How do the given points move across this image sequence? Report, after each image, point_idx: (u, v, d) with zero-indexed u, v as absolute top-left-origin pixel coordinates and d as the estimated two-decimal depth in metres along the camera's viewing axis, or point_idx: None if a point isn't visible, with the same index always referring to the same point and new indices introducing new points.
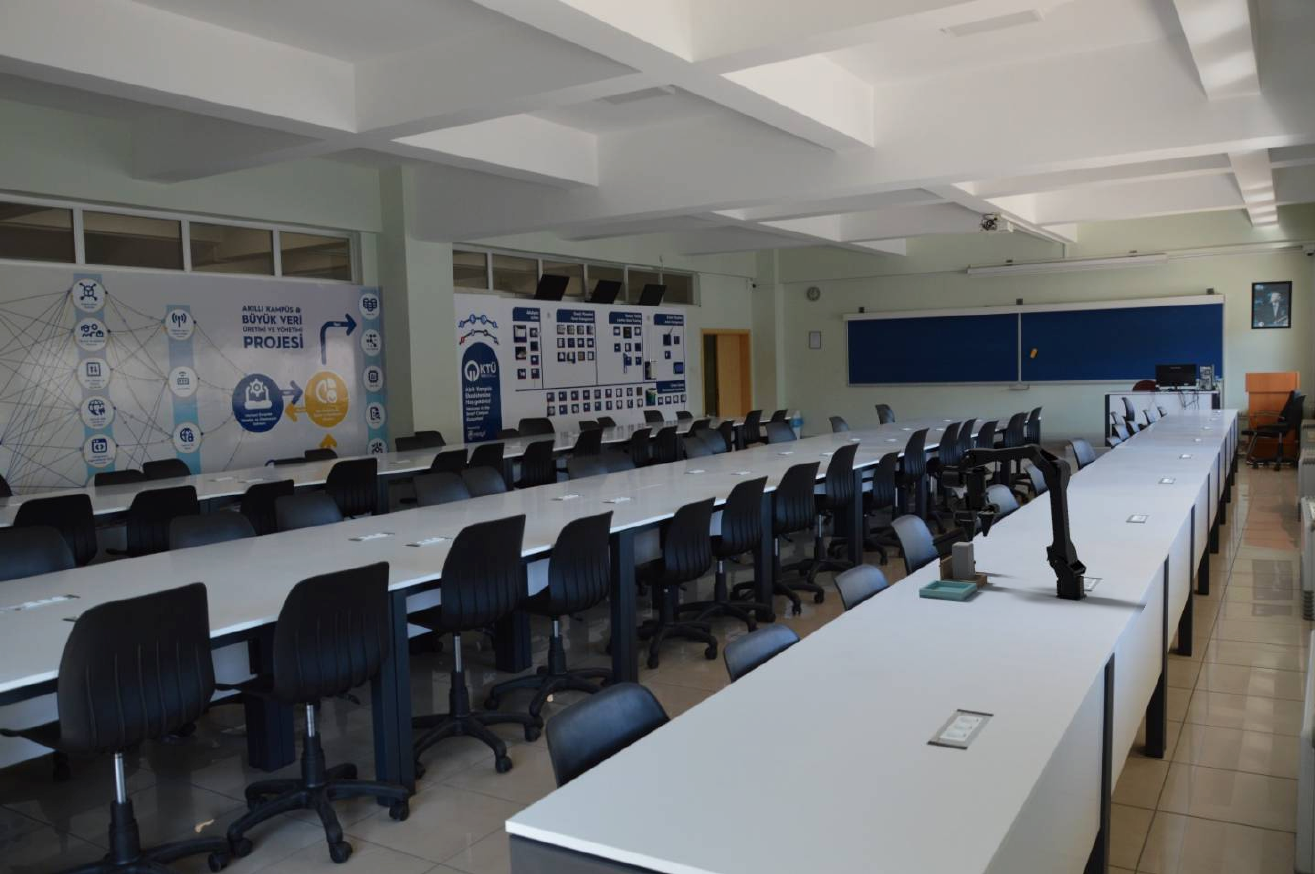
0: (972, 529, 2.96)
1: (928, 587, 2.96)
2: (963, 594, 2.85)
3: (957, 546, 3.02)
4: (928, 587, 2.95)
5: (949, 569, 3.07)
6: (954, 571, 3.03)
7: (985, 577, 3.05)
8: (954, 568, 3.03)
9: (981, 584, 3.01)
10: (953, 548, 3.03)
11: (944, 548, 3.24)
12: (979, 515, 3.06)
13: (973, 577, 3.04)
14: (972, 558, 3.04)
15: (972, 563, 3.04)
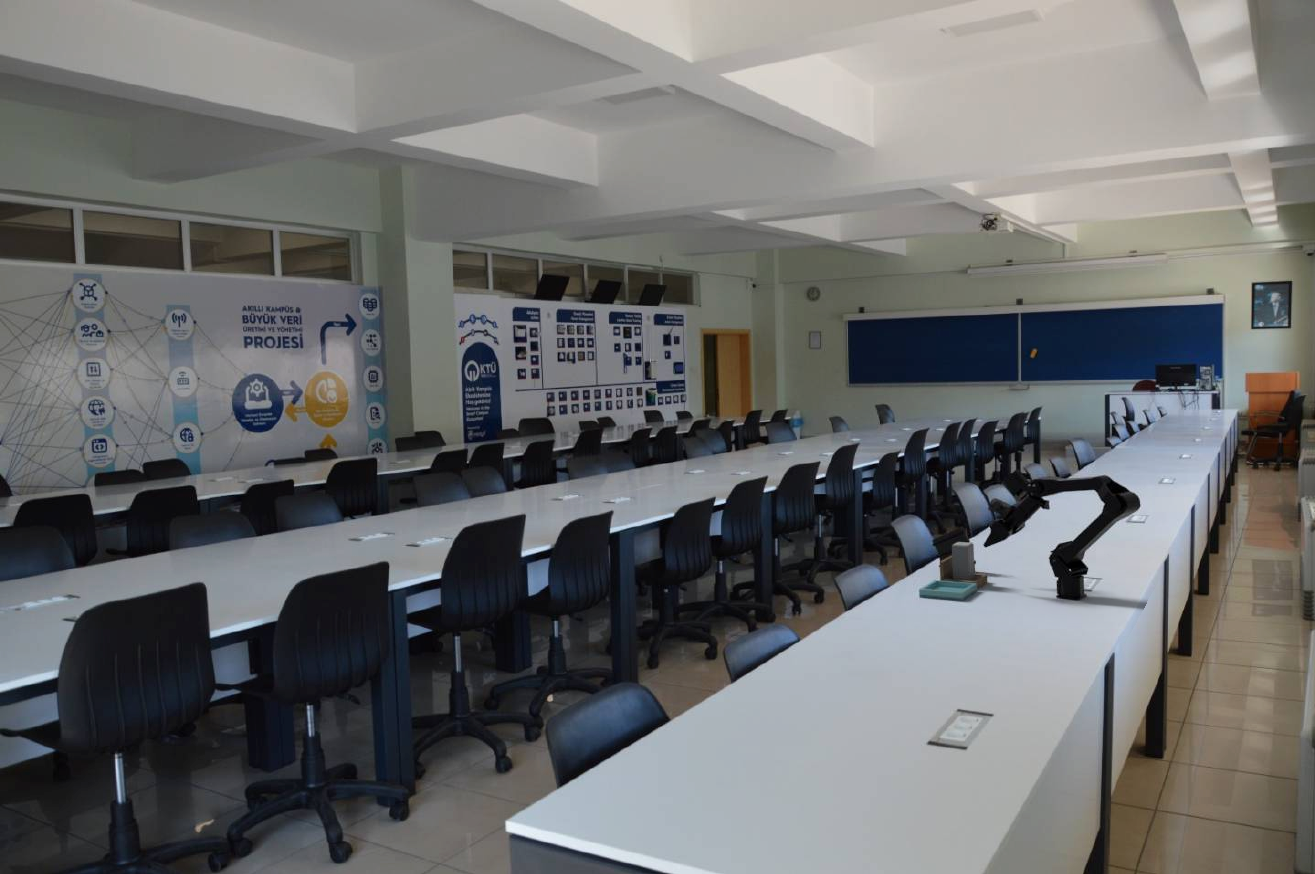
0: (995, 541, 2.92)
1: (928, 587, 2.96)
2: (963, 594, 2.85)
3: (957, 546, 3.02)
4: (928, 587, 2.95)
5: (949, 569, 3.07)
6: (954, 571, 3.03)
7: (985, 577, 3.05)
8: (954, 568, 3.03)
9: (981, 584, 3.01)
10: (953, 548, 3.03)
11: (944, 548, 3.24)
12: None
13: (973, 577, 3.04)
14: (972, 558, 3.04)
15: (972, 563, 3.04)
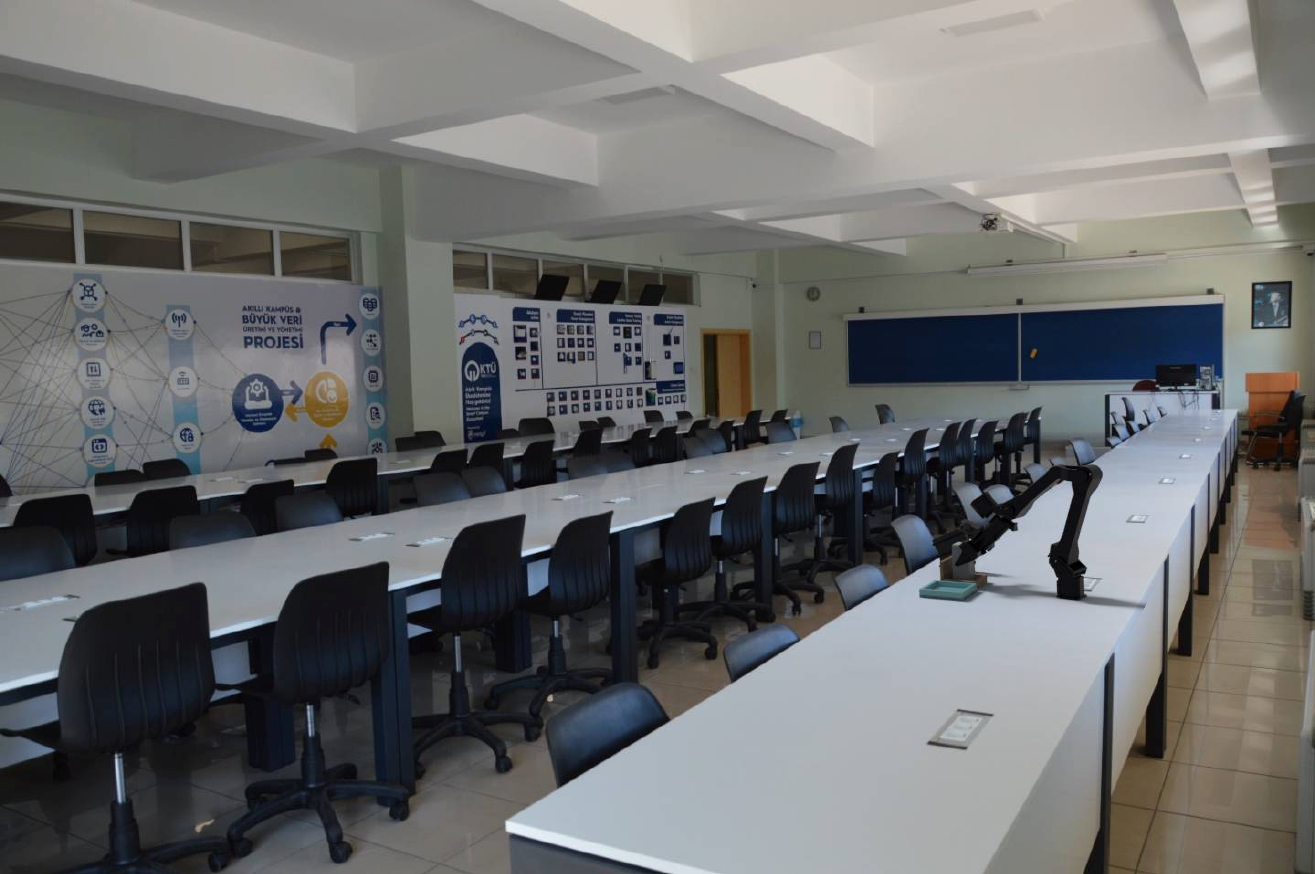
0: (966, 561, 2.99)
1: (928, 587, 2.96)
2: (963, 594, 2.85)
3: (957, 546, 3.02)
4: (928, 587, 2.95)
5: (949, 569, 3.07)
6: (954, 571, 3.03)
7: (985, 577, 3.05)
8: (954, 568, 3.03)
9: (981, 584, 3.01)
10: (953, 548, 3.03)
11: (944, 548, 3.24)
12: None
13: (973, 577, 3.04)
14: None
15: (972, 563, 3.04)
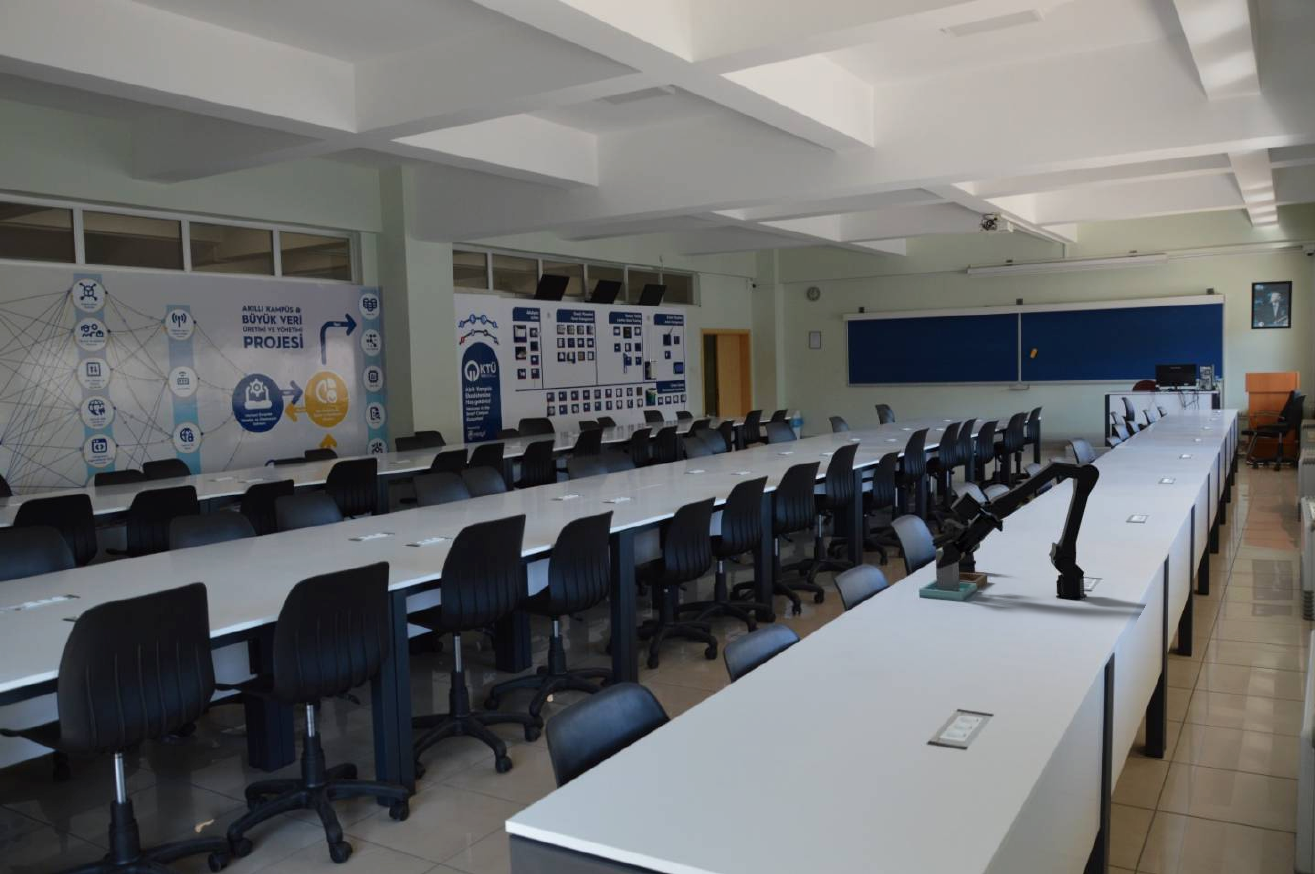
0: (948, 563, 2.87)
1: (928, 587, 2.96)
2: (963, 594, 2.85)
3: (941, 551, 2.91)
4: (928, 587, 2.95)
5: None
6: (938, 577, 2.92)
7: (985, 577, 3.05)
8: (938, 574, 2.92)
9: (981, 584, 3.01)
10: (937, 553, 2.92)
11: None
12: None
13: (957, 583, 2.93)
14: (956, 564, 2.93)
15: (956, 569, 2.93)
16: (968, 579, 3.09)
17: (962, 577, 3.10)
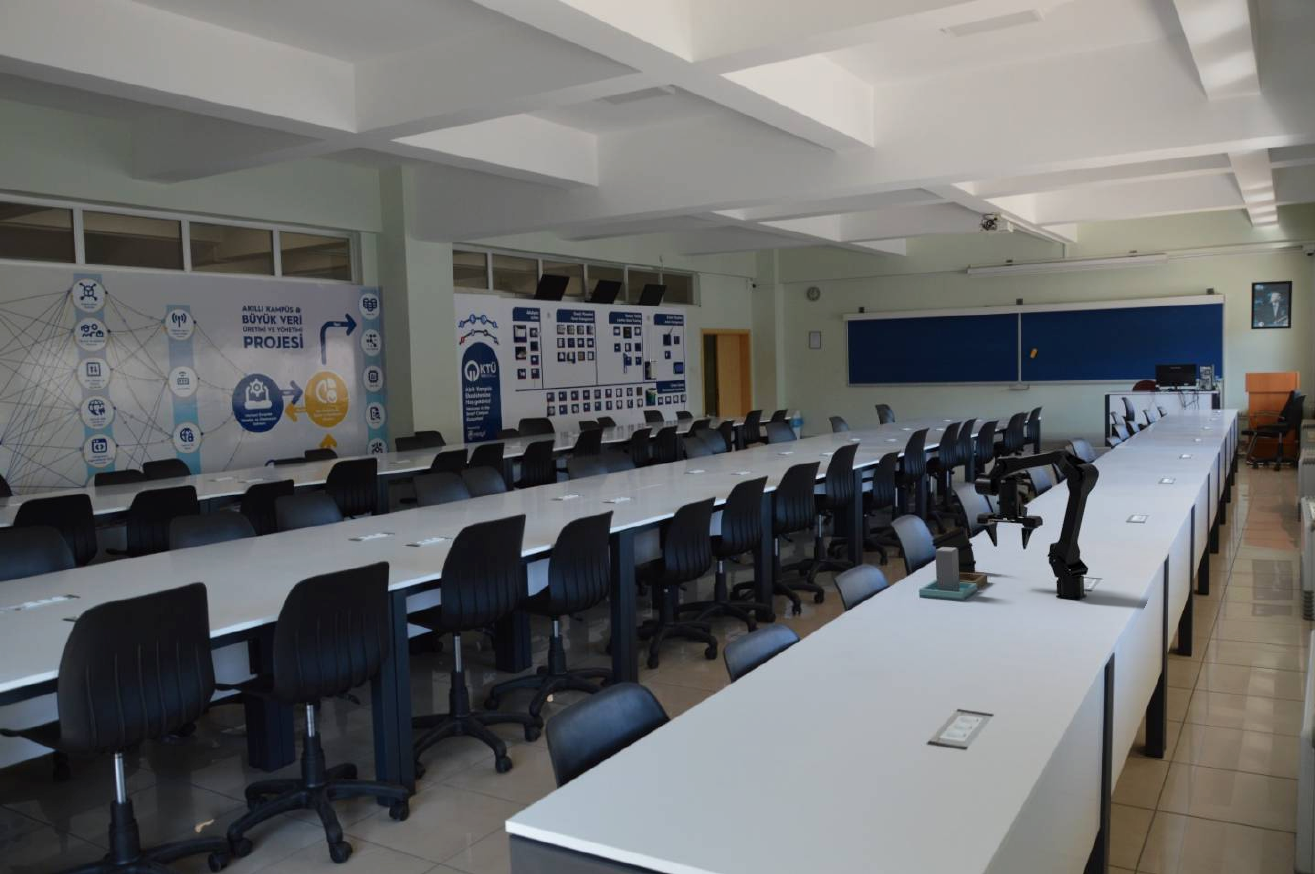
0: None
1: (928, 587, 2.96)
2: (963, 594, 2.85)
3: (941, 551, 2.91)
4: (928, 587, 2.95)
5: None
6: (938, 577, 2.92)
7: (985, 577, 3.05)
8: (938, 574, 2.92)
9: (981, 584, 3.01)
10: (937, 553, 2.92)
11: None
12: None
13: (957, 583, 2.93)
14: (956, 564, 2.93)
15: (956, 569, 2.93)
16: (968, 579, 3.09)
17: (962, 577, 3.10)
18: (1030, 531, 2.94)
